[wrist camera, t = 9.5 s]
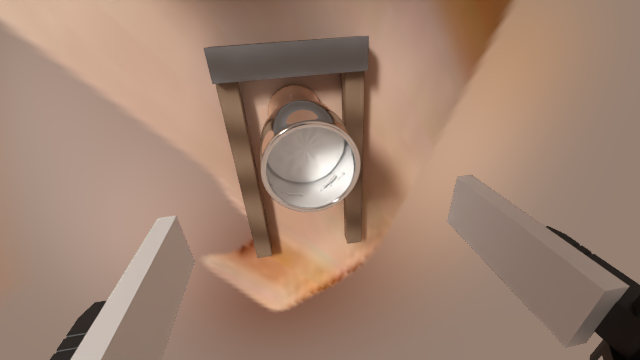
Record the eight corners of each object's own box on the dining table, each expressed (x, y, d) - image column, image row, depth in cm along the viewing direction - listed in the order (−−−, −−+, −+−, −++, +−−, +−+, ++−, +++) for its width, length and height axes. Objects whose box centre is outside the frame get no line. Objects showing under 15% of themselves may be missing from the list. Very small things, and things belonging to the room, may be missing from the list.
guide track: (210, 47, 26) (203, 48, 23) (359, 36, 27) (368, 36, 25) (258, 249, 39) (257, 264, 36) (357, 233, 40) (363, 247, 38)
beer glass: (336, 101, 30) (384, 151, 17) (305, 151, 33) (327, 228, 20) (282, 67, 28) (291, 95, 15) (253, 123, 30) (238, 191, 17)
